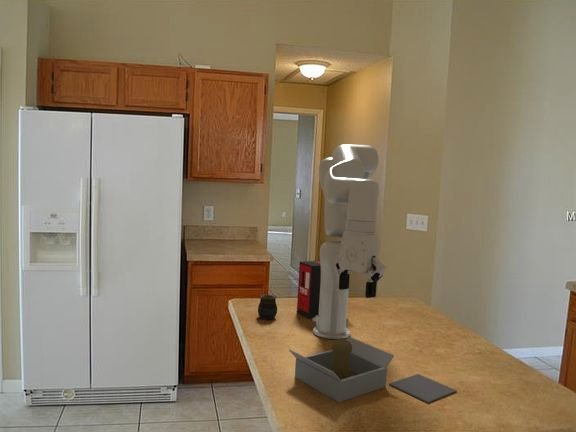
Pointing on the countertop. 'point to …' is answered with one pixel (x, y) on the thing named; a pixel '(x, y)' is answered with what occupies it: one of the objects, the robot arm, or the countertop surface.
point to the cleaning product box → (309, 289)
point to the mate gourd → (267, 307)
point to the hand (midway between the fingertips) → (356, 293)
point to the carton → (362, 362)
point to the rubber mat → (423, 388)
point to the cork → (341, 358)
